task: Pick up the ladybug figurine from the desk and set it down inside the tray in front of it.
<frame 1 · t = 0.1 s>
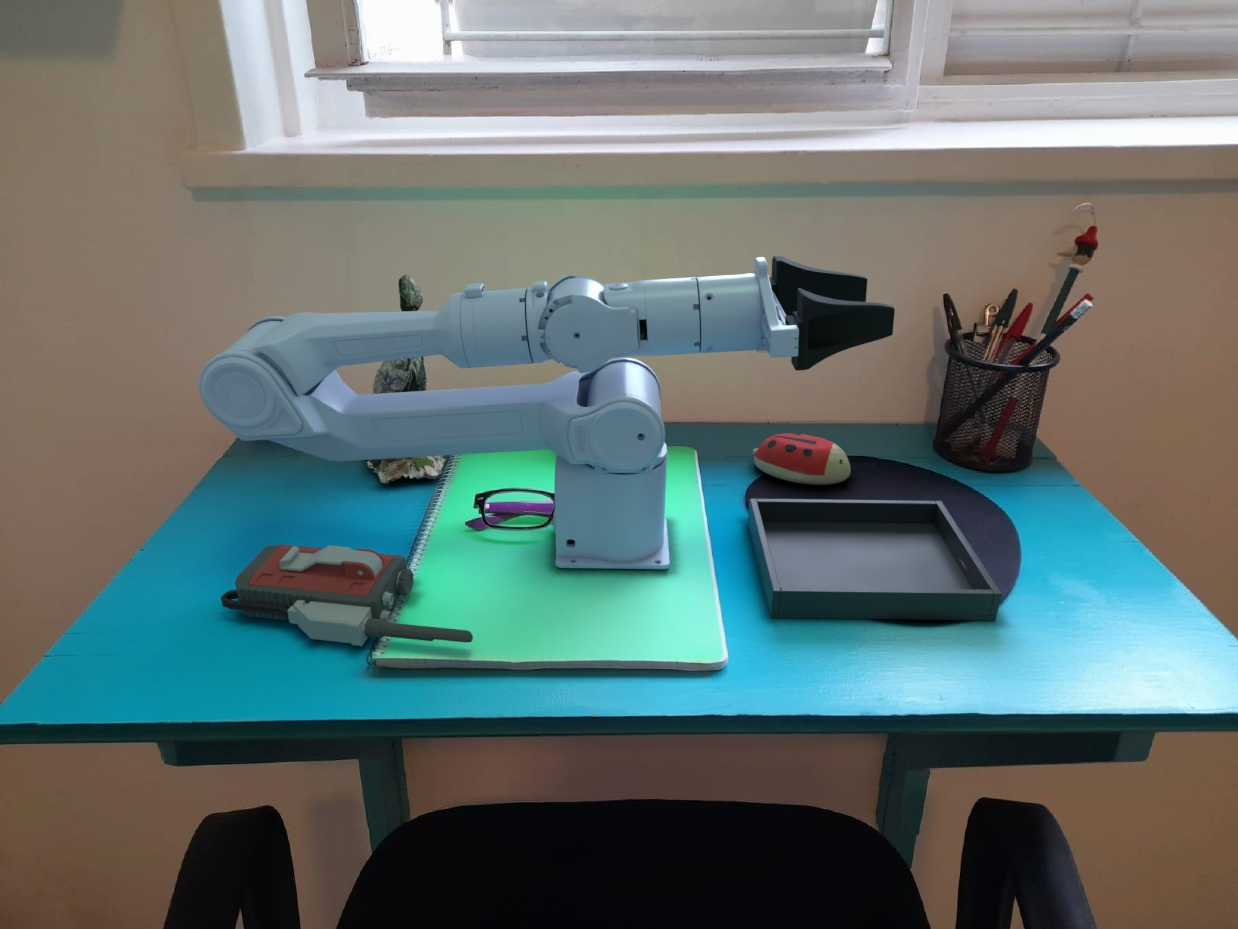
hand: (878, 304, 65), 22 cm above the table, tool horizontal, fingers open, 7 cm apart
tray: (860, 567, 73), on the table
ladybug figurine: (800, 474, 88), on the table
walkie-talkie: (360, 614, 67), on the table
plant with pod: (408, 464, 89), on the table
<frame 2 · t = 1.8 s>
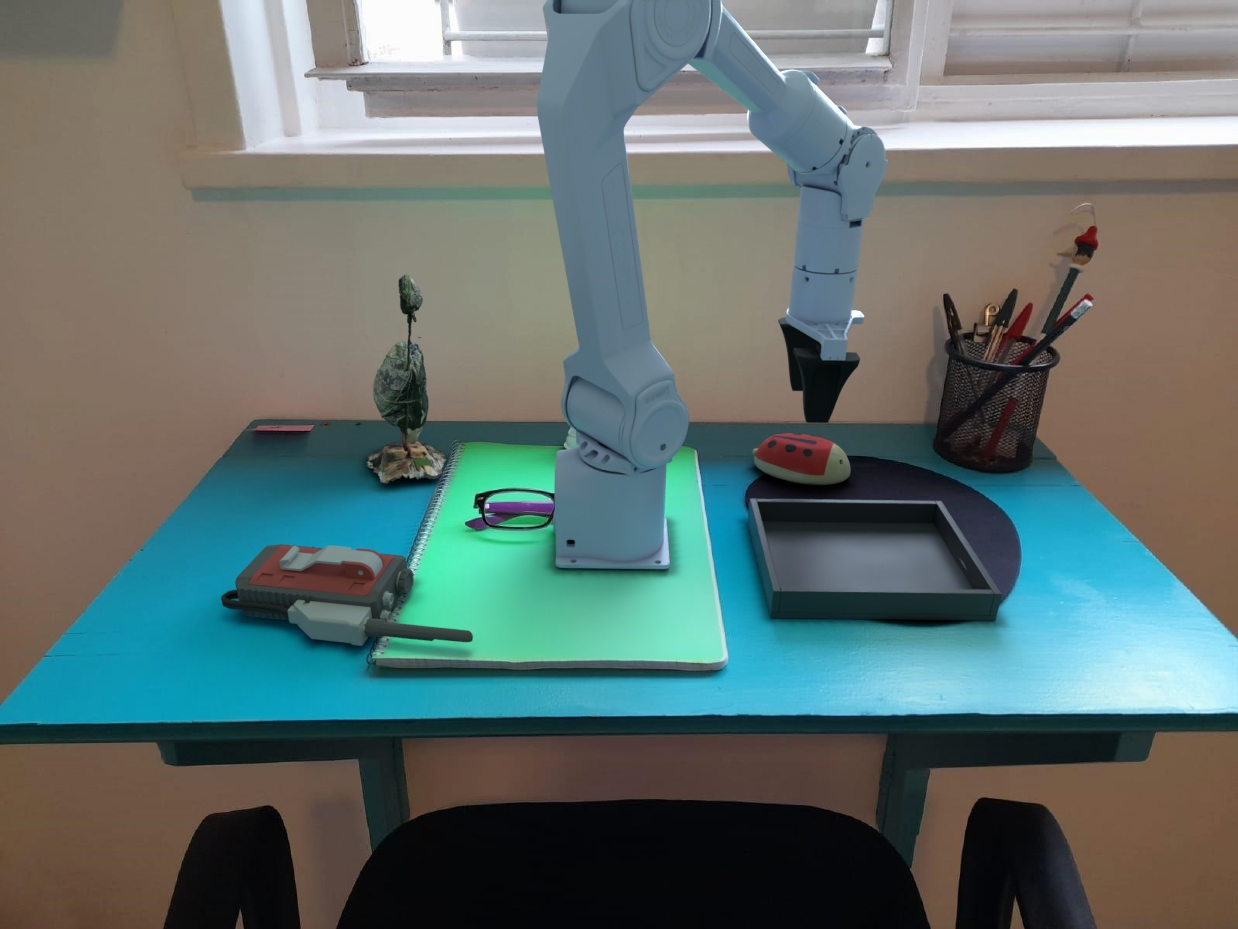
hand: (809, 405, 84), 7 cm above the table, tool pointing down, fingers open, 7 cm apart
nothing on the table moved.
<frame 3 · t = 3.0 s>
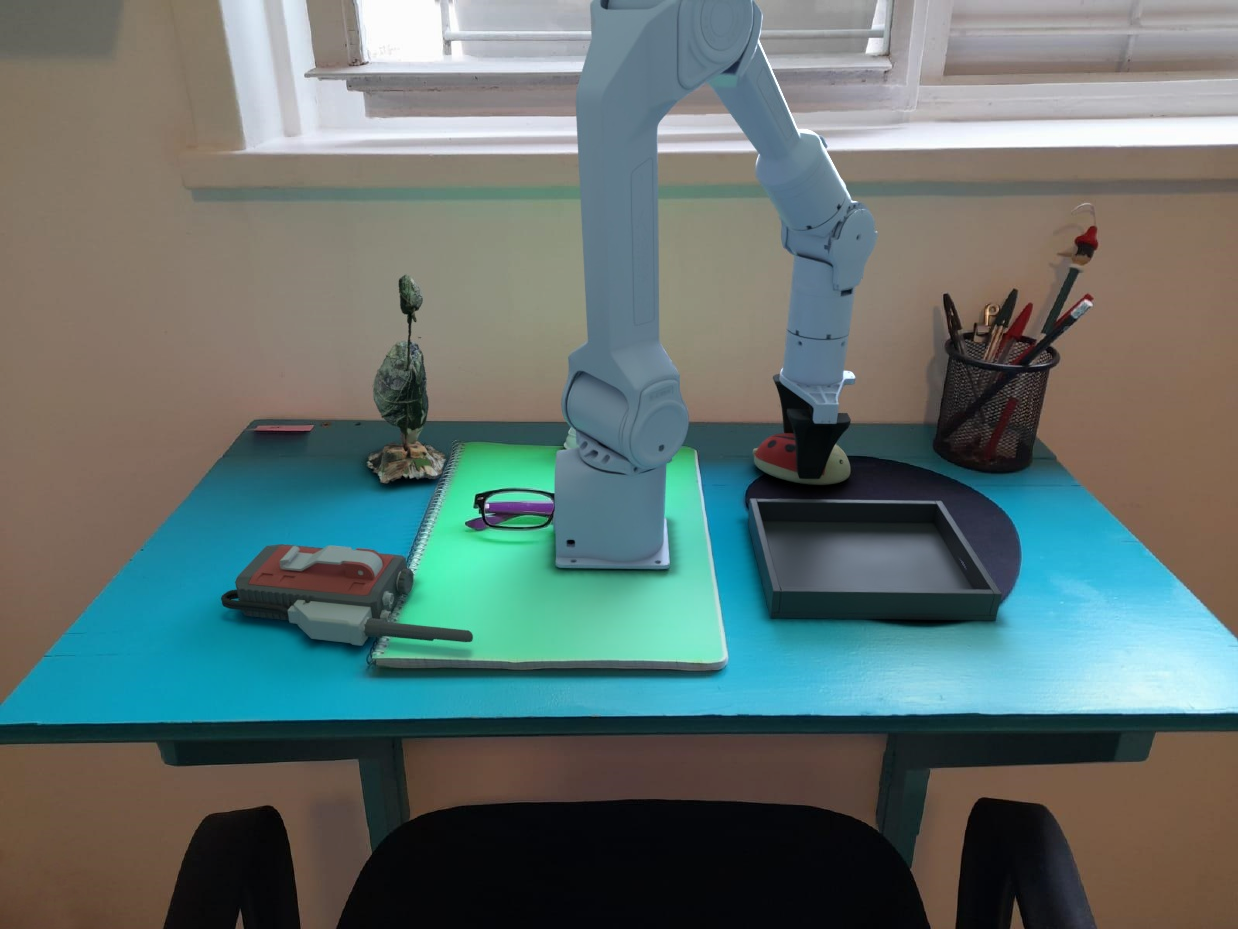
hand: (802, 460, 87), 1 cm above the table, tool pointing down, fingers closed on ladybug figurine, 7 cm apart
ladybug figurine: (800, 474, 88), on the table, touching gripper
everything else where it was.
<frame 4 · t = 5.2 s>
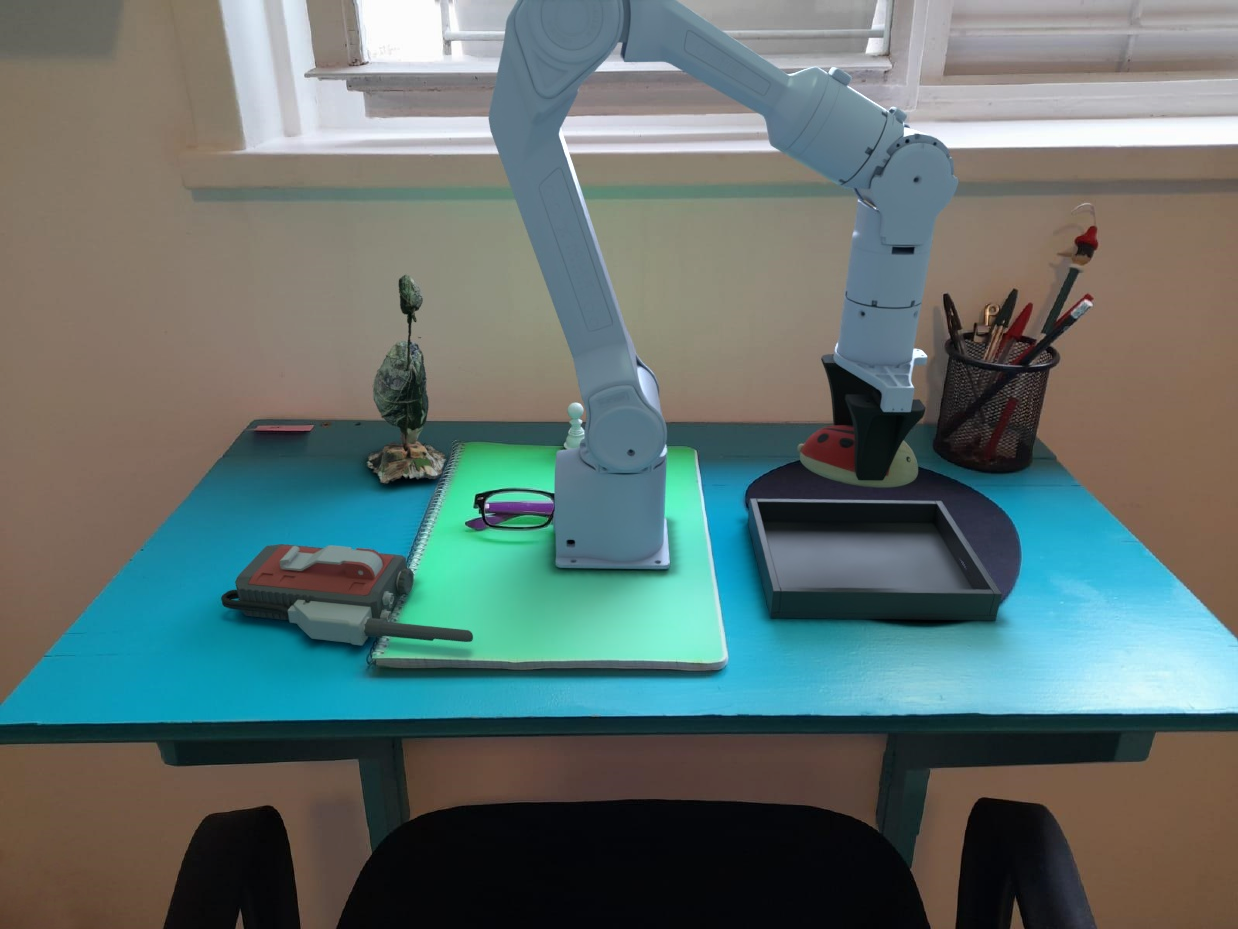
hand: (858, 457, 72), 8 cm above the table, tool pointing down, fingers closed on ladybug figurine, 7 cm apart
ladybug figurine: (856, 474, 73), point 7 cm above the table, touching gripper
everything else where it was.
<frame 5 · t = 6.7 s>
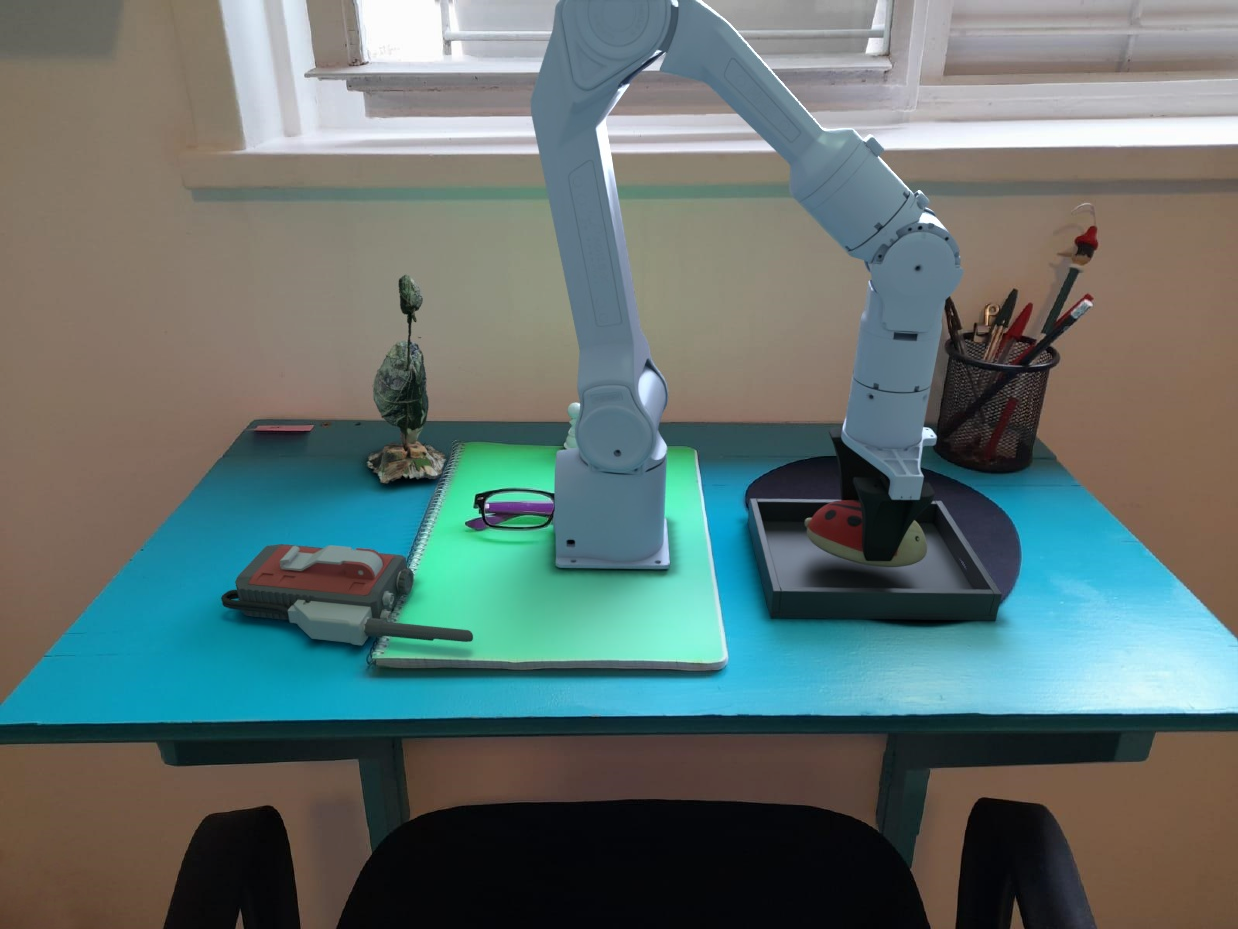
hand: (866, 533, 71), 3 cm above the table, tool pointing down, fingers closed on ladybug figurine, 7 cm apart
ladybug figurine: (863, 550, 72), point 2 cm above the table, touching gripper
everything else where it was.
when the fingers open (2 cm above the table, at t = 7.8 s): ladybug figurine stays where it is, resting on tray.
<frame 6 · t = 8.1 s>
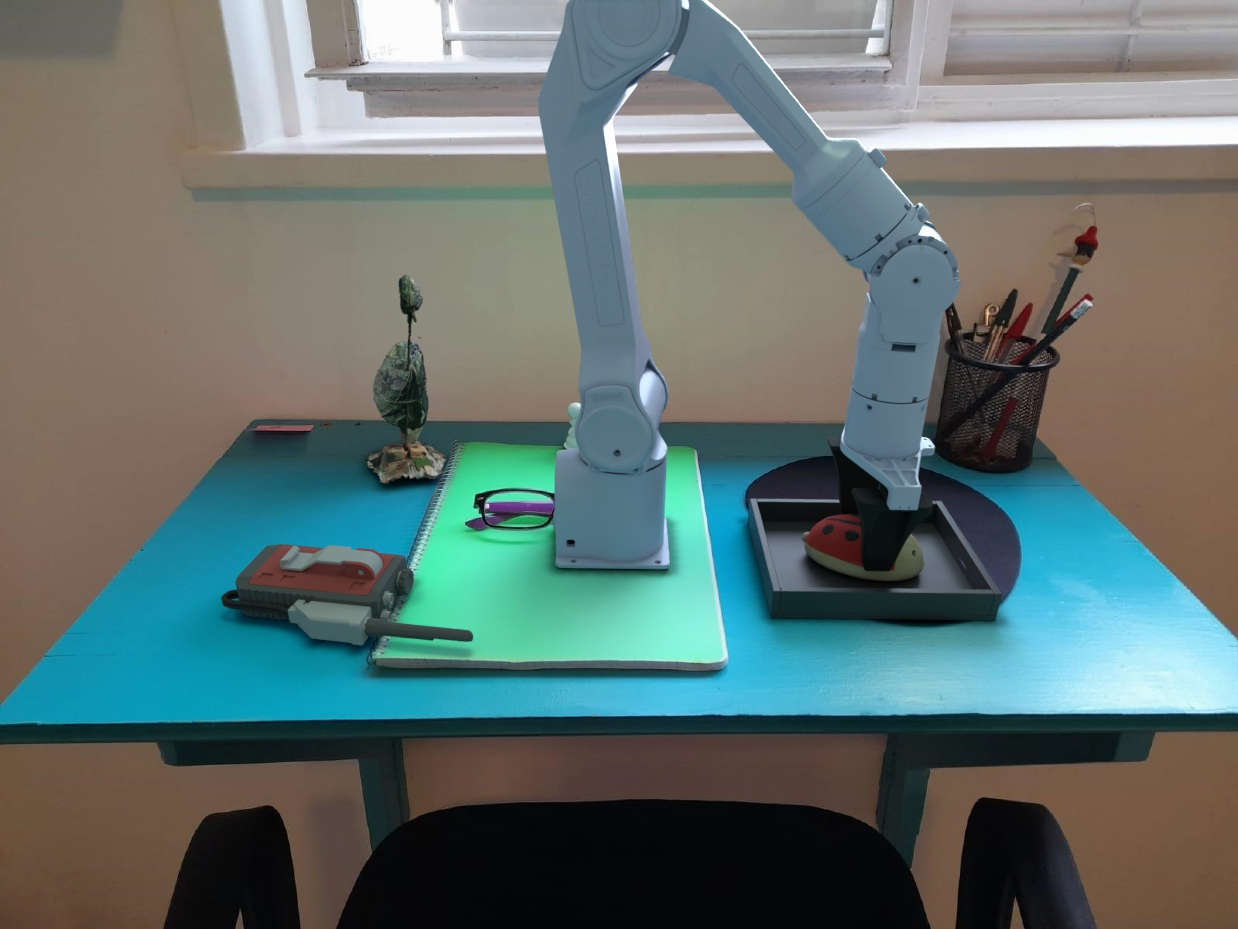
hand: (864, 542, 71), 2 cm above the table, tool pointing down, fingers open, 7 cm apart
ladybug figurine: (861, 564, 72), resting on tray
everything else where it was.
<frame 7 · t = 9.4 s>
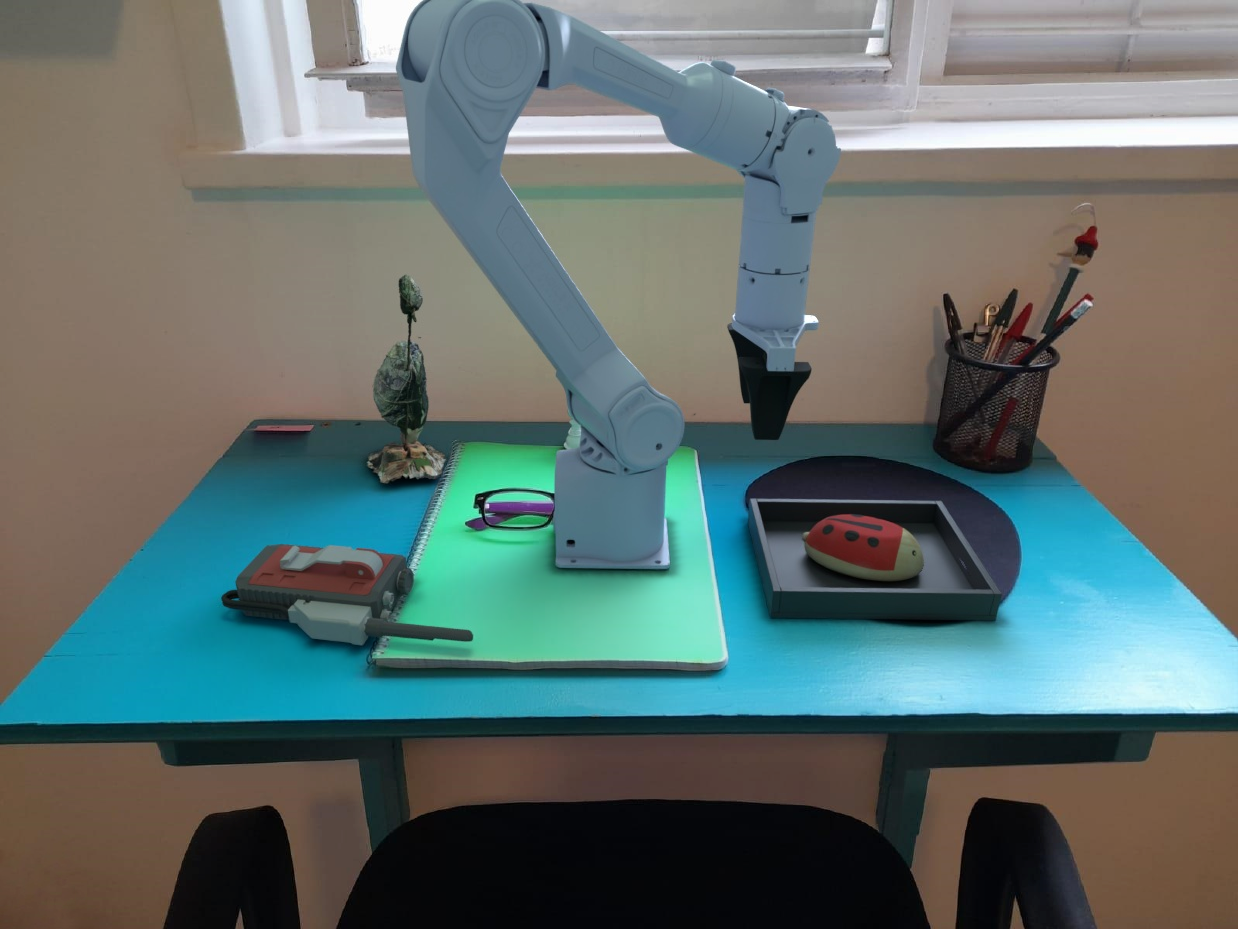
hand: (759, 419, 76), 9 cm above the table, tool pointing down, fingers open, 7 cm apart
nothing on the table moved.
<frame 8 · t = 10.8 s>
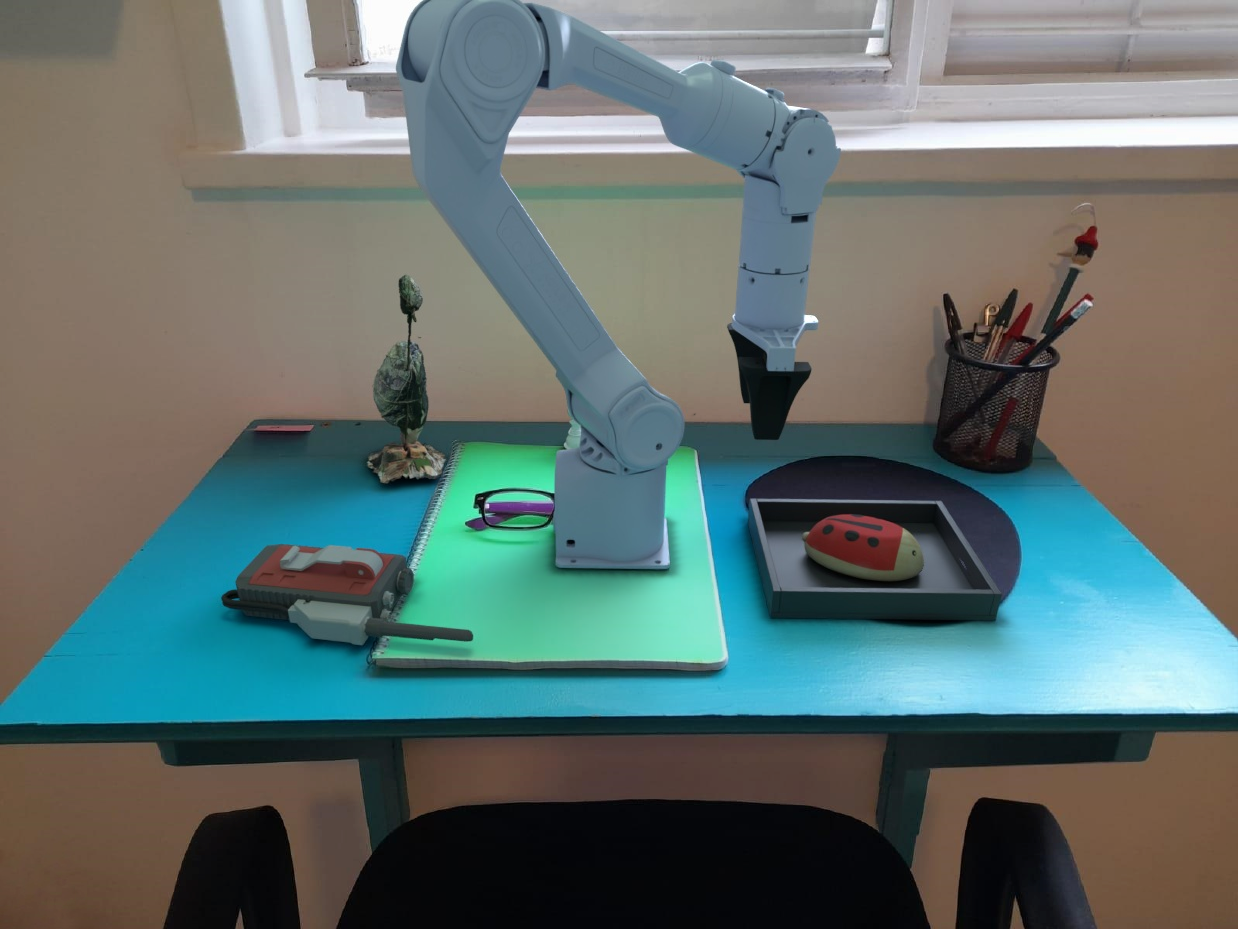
hand: (759, 419, 76), 9 cm above the table, tool pointing down, fingers open, 7 cm apart
nothing on the table moved.
at the end: ladybug figurine inside the target area in the tray (0.0 cm from its centre), point 0.3 cm above the tray's base; the gripper is holding nothing; ladybug figurine tilted 0° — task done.
